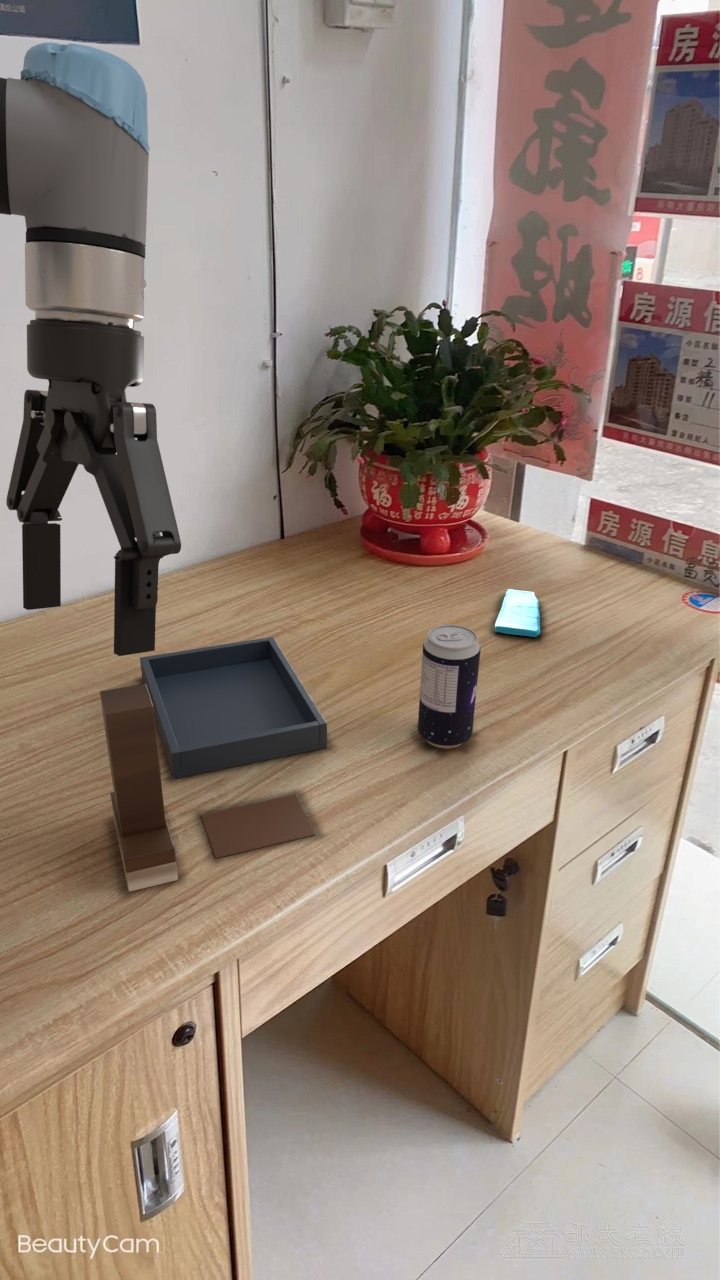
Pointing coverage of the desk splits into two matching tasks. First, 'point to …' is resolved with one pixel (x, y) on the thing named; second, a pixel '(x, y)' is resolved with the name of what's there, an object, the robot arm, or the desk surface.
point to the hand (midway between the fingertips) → (85, 628)
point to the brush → (137, 788)
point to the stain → (256, 825)
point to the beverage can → (448, 685)
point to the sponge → (519, 614)
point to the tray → (230, 706)
